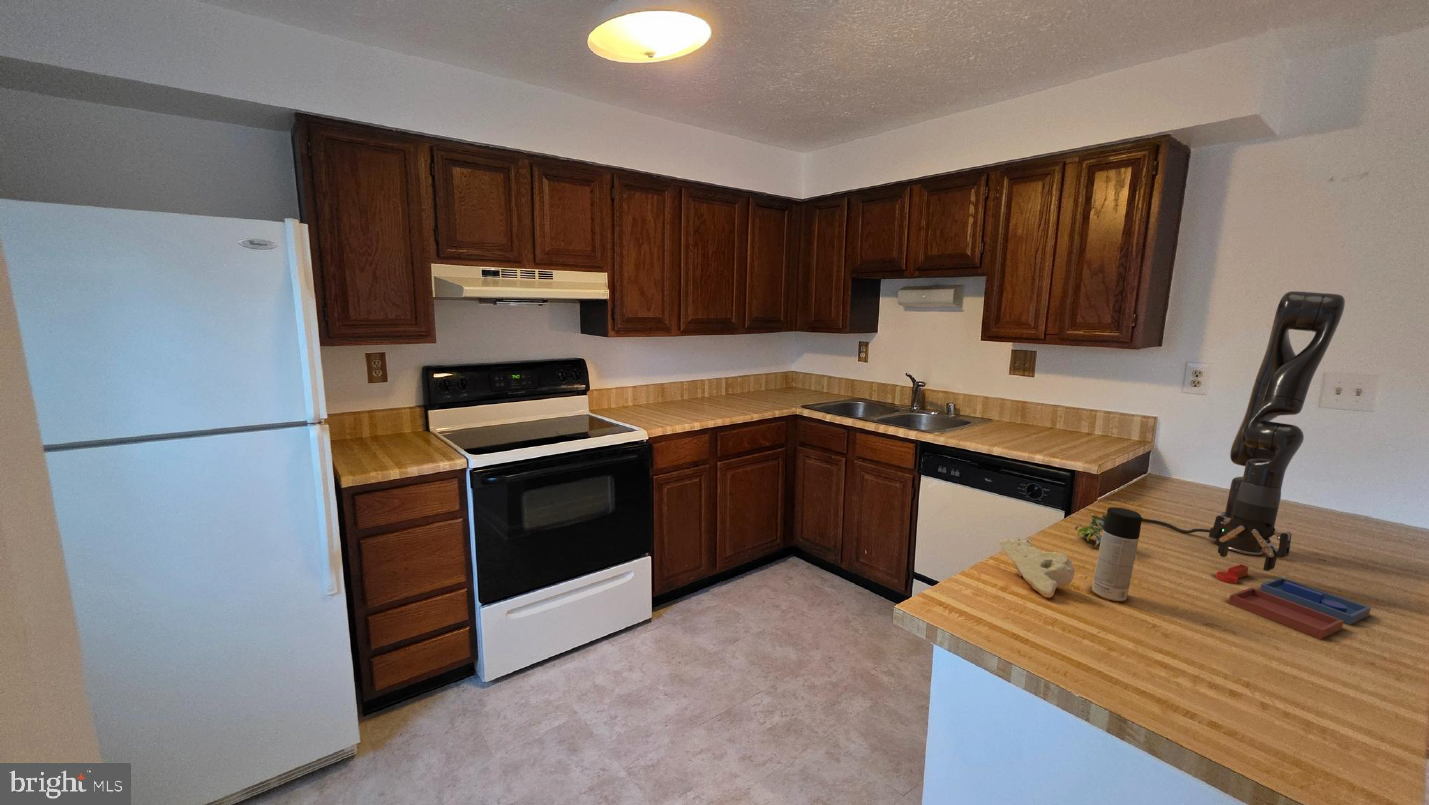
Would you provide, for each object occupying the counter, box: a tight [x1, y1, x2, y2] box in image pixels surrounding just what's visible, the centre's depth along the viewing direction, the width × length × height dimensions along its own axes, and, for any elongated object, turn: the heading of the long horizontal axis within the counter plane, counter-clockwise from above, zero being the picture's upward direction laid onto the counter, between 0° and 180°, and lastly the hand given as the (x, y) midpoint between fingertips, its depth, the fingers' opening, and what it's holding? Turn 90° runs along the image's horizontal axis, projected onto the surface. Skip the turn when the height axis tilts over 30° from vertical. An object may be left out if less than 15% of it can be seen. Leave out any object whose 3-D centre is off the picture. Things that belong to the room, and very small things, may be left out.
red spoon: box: [1215, 564, 1249, 584], centre depth 141 cm, size 10×4×2 cm, turn 116°
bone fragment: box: [999, 537, 1075, 599], centre depth 131 cm, size 15×7×15 cm
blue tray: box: [1259, 577, 1372, 626], centre depth 130 cm, size 15×10×2 cm
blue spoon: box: [1282, 581, 1347, 613], centre depth 130 cm, size 10×4×2 cm, turn 26°
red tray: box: [1228, 587, 1344, 640], centre depth 123 cm, size 15×10×2 cm
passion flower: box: [1074, 512, 1107, 549], centre depth 156 cm, size 11×11×12 cm
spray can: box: [1091, 506, 1143, 602], centre depth 127 cm, size 7×7×20 cm
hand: (1244, 563), depth 141 cm, fingers open, 8 cm apart
